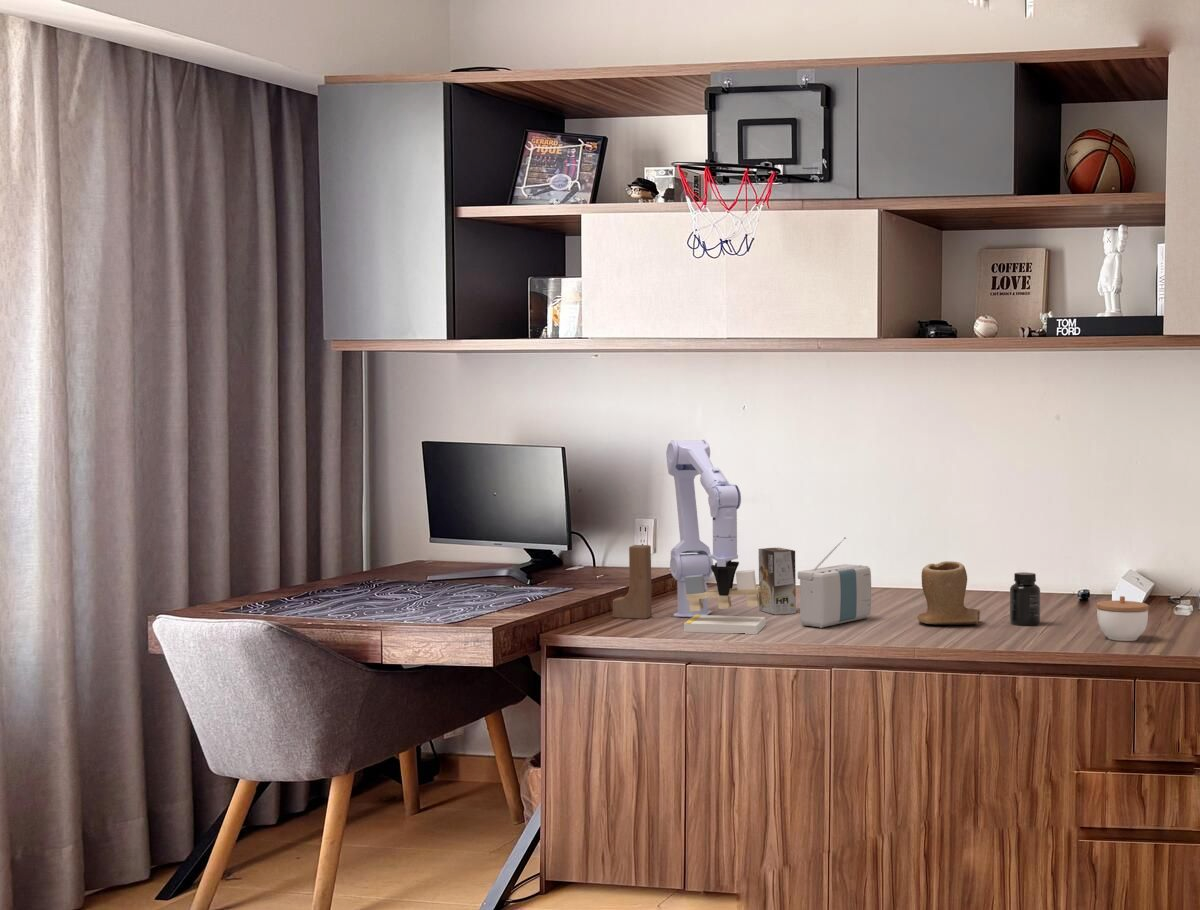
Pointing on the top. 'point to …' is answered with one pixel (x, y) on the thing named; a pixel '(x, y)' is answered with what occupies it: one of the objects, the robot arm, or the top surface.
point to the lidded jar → (1122, 619)
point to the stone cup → (946, 595)
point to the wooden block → (636, 586)
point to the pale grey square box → (695, 584)
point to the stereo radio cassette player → (834, 594)
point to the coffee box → (777, 581)
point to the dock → (724, 624)
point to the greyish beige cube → (745, 579)
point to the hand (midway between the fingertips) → (725, 593)
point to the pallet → (723, 598)
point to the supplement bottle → (1025, 600)
